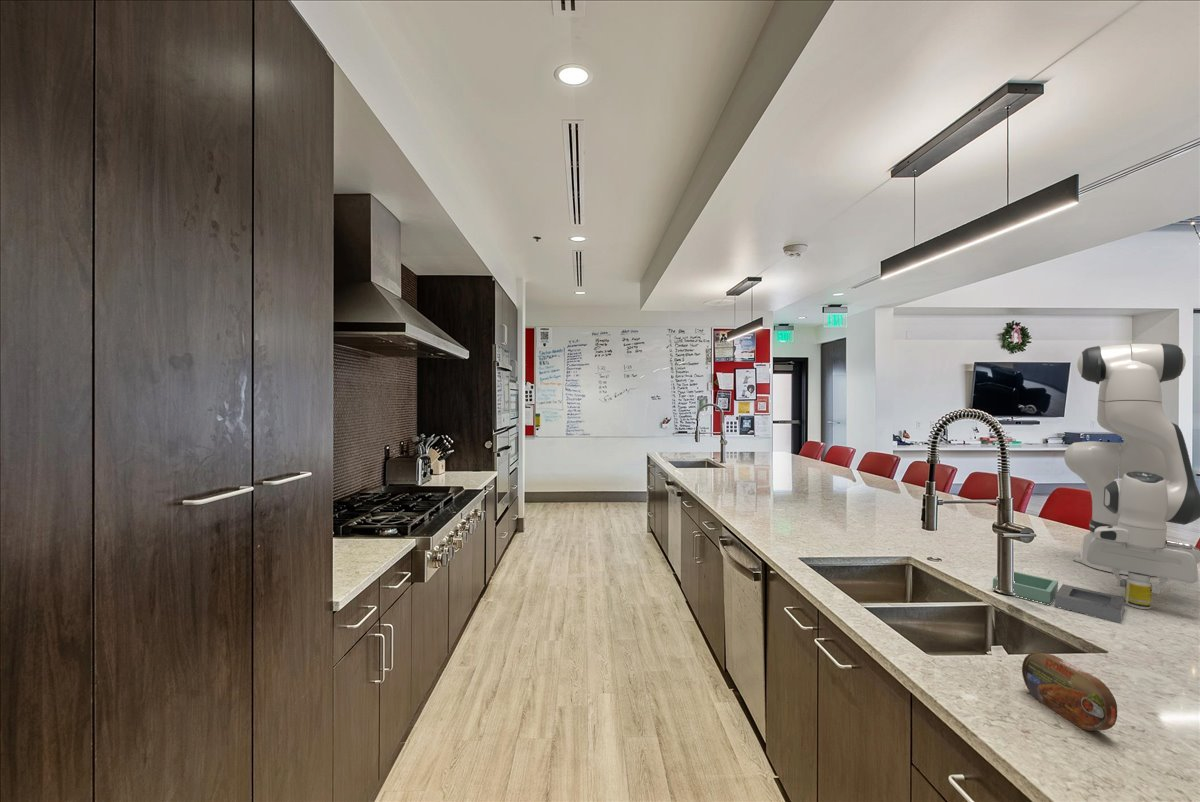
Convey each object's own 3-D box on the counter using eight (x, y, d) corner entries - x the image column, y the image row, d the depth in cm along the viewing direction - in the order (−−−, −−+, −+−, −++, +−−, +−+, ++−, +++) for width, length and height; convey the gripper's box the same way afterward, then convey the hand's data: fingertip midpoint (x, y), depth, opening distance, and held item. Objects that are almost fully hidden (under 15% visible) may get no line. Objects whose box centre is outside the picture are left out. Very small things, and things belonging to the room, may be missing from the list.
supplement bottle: (1155, 610, 136) (1157, 577, 136) (1133, 608, 137) (1135, 575, 137) (1140, 603, 141) (1142, 571, 140) (1119, 601, 142) (1121, 569, 141)
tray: (1003, 581, 155) (1003, 569, 155) (1057, 593, 146) (1058, 581, 146) (992, 591, 147) (993, 578, 146) (1049, 605, 138) (1050, 592, 138)
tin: (1019, 688, 99) (1021, 643, 99) (1035, 688, 99) (1037, 643, 99) (1102, 743, 84) (1105, 690, 84) (1120, 742, 84) (1123, 689, 84)
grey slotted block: (1062, 595, 145) (1062, 584, 145) (1124, 609, 136) (1125, 597, 136) (1054, 606, 137) (1055, 595, 137) (1120, 623, 128) (1121, 610, 128)
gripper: (1201, 543, 133) (1198, 599, 133) (1089, 526, 148) (1087, 576, 148) (1202, 548, 128) (1198, 606, 129) (1086, 530, 143) (1084, 581, 144)
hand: (1138, 589), depth 139 cm, fingers closed on supplement bottle, 5 cm apart
